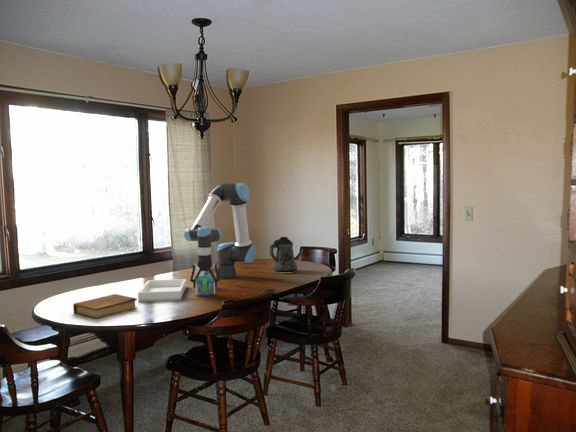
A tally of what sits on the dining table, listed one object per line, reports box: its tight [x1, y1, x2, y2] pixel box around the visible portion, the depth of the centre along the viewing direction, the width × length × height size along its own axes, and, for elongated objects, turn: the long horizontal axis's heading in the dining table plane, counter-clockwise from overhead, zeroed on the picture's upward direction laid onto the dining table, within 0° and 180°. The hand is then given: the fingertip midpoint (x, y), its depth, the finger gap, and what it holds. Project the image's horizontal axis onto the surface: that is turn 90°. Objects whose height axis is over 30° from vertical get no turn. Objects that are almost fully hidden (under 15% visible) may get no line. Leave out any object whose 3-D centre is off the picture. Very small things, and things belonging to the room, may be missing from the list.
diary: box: [72, 293, 138, 321], centre depth 229 cm, size 23×19×6 cm
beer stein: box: [268, 236, 298, 272], centre depth 327 cm, size 16×19×25 cm
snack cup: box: [196, 275, 214, 297], centre depth 261 cm, size 16×10×10 cm
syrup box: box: [196, 266, 211, 277], centre depth 280 cm, size 6×6×14 cm
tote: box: [137, 278, 187, 303], centre depth 264 cm, size 22×32×5 cm
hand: (205, 293), depth 261 cm, fingers closed on snack cup, 9 cm apart
